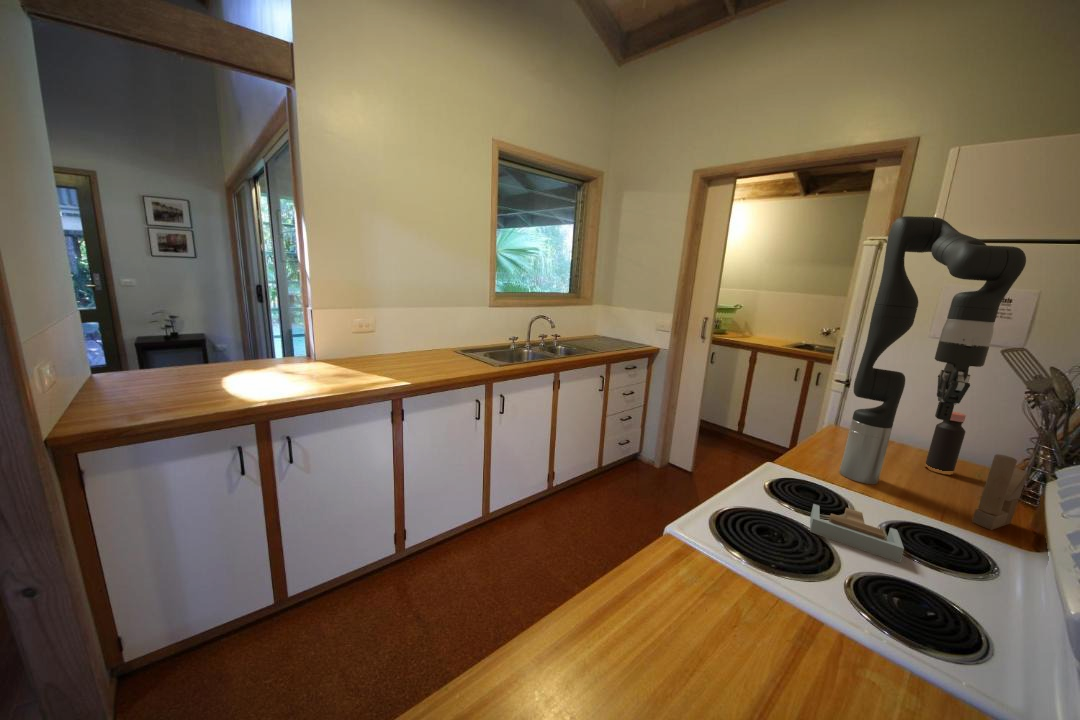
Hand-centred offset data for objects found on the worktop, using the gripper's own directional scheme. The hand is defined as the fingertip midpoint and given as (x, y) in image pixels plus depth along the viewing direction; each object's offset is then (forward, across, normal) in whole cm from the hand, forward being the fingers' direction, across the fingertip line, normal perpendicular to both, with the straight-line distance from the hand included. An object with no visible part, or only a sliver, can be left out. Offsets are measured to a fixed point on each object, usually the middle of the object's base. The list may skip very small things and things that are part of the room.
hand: (942, 419), depth 89 cm
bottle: (+27, -57, +15) cm, 65 cm away
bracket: (+27, +14, -12) cm, 33 cm away
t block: (+27, +14, -12) cm, 32 cm away
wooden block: (+27, -20, +18) cm, 38 cm away
